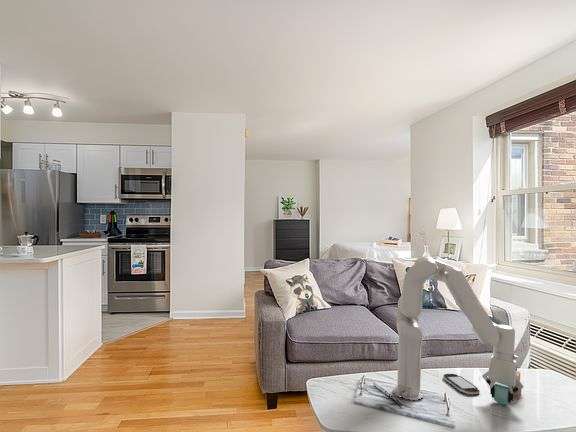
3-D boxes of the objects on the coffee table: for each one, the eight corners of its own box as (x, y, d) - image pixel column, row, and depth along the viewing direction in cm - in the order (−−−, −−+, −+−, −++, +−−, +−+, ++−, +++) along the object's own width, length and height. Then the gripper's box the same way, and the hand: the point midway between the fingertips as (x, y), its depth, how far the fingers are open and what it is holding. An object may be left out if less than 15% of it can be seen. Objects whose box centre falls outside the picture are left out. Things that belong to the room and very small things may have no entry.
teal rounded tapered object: (507, 405, 152) (508, 390, 152) (492, 400, 155) (493, 386, 155) (510, 400, 156) (510, 386, 156) (495, 396, 160) (496, 382, 160)
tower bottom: (518, 400, 160) (518, 388, 160) (500, 395, 165) (500, 383, 165) (521, 394, 166) (521, 383, 166) (503, 389, 170) (503, 378, 170)
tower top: (518, 387, 161) (518, 376, 161) (502, 383, 165) (502, 372, 165) (520, 383, 166) (520, 371, 166) (504, 379, 169) (504, 368, 170)
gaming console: (439, 378, 181) (440, 373, 181) (456, 377, 183) (457, 372, 183) (464, 397, 162) (464, 391, 162) (483, 396, 164) (483, 390, 164)
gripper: (528, 358, 153) (527, 403, 153) (482, 348, 164) (481, 389, 164) (526, 363, 148) (524, 410, 147) (478, 352, 158) (476, 395, 158)
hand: (501, 398), depth 156 cm, fingers closed on teal rounded tapered object, 5 cm apart
